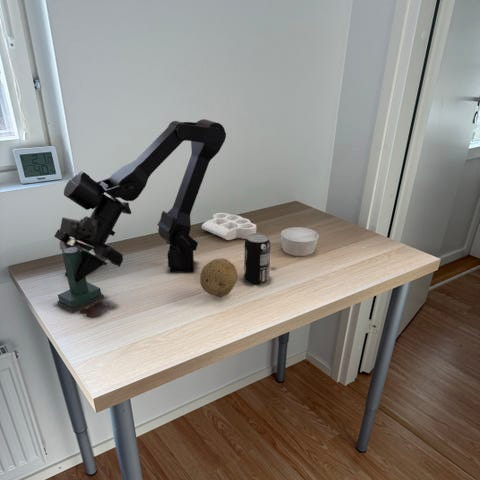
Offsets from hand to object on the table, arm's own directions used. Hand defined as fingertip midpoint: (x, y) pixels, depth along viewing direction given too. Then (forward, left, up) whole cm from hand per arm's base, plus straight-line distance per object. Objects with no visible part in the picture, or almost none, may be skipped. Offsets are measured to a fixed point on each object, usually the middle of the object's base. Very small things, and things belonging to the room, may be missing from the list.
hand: (71, 279), depth 108 cm
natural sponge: (-34, -2, -7) cm, 35 cm away
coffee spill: (-6, +3, -7) cm, 9 cm away
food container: (+2, -19, -7) cm, 21 cm away
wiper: (-1, -1, -7) cm, 7 cm away
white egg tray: (-32, -38, -3) cm, 50 cm away
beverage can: (-44, -11, -7) cm, 46 cm away
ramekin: (-58, -30, -7) cm, 66 cm away
